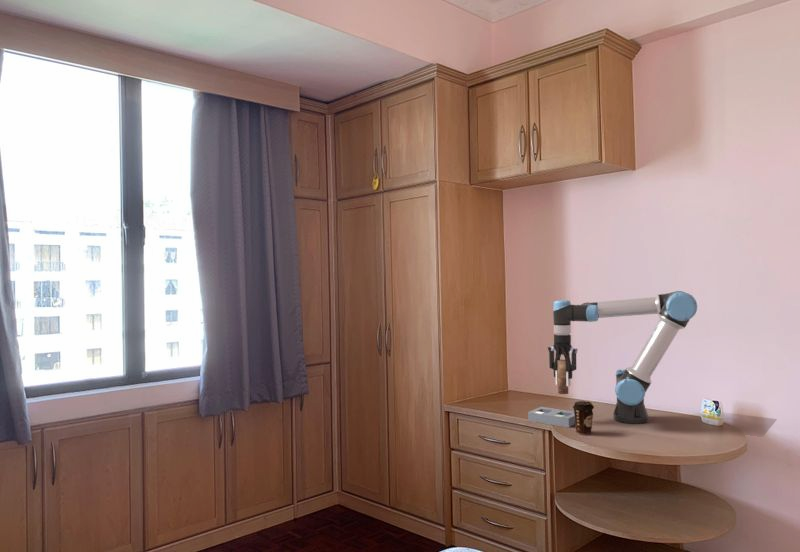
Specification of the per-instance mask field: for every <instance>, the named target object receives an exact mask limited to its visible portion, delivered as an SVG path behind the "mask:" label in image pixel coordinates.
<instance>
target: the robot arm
mask: <svg viewBox="0 0 800 552" xmlns="http://www.w3.org/2000/svg"><path fill="white" fill-rule="evenodd" d="M697 310H698V303H697V300H696V298H695V297H694V296H693V295H692V294H690V293H688V292H685V291H682V290H677V291H672V292H667V293H661V294H657V295H656V296H655V297H654V296H653V297H642V298H640V297H639V298H630V299H619V300H617V299H616V300H605V301H596V302H583V303H581V304H571V300H565V299H562V300H561V299H560V300H555V301H554V302H553V311H552V312H553V345H552V346H548V347H547V350H548V352H549V353H548V356H549V362H548V363H549V369H551V370H553V377H554V378H555V386H558V362H557V360H561V357H562V355H563V357H564V360H565V361H566V365H567V369H568V371H567V372H566V386H568V387H570V386H572V385H571V379H573V372H574V371H577V354H578V348H574V347H573V346H572V335H571V333H572V328H571V327H572V326H571V325H572V324H571V322H587V323H592V322H593V323H594V322H598V321H599V319H602V318H603V319H604V318H617V317H618V318H619V317H630V316H631V317H632V316H644V315H645V316H647V315H658V317H659V320H658V322H657V324H656V325H655V327H654V328H653V330H652V332H651V334H650V335H649V337H648V339H647V340H646V341H645V344H644V345H643V347H642V349H640V352H639V354H638V355H637V357H636V359H635V360H634V362H633V363H632V365H631V366H629V367H626V368H625V369H624V368H623V369H617V370H616V372H615V379H616V381H615V383H616V384H615V389H614V391H615V395H616V404H615V407H614V410H613V413H612V414H613V415H612V419H613V420H615V421H616V422H620V423H626V424H645V423H648V422H649V414H648V411H647V409H646V405H645V396H646V393H647V391H648V389H649V388H650V386H651V384H653V383H652V379H651V378H652V377H651V376H652V375H653V374H654V372H655V370H656V369H657V367H658V365H659V364H660V362H661V360H662V359H663V357H664V356H665V354H666V352H667V350H668V349H669V347H670V345H671V344H672V342H673V340H674V339H675V337H676V336H677V335H678V332H679V331H680V330H683V329H686V327H687V325H688V323H689V322H690V320H691V319H692V318H693V317H694V316H696V313H697ZM570 353H571V357H570Z"/></svg>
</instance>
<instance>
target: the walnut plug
mask: <svg viewBox="0 0 800 552" xmlns="http://www.w3.org/2000/svg"><path fill="white" fill-rule="evenodd" d="M557 362H558V385H557V393H558V394H560V395H568V394H569V386H566V372H567V371H568V369H567V365H566V361H565V359H560V360H557Z"/></svg>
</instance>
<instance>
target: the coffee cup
mask: <svg viewBox="0 0 800 552" xmlns="http://www.w3.org/2000/svg"><path fill="white" fill-rule="evenodd" d="M572 408H573V411H574V415H575V433H576V434H577V435H587V436H588V435H591V434H592V427H593V418H594V412H593V409H595V406H594V405H593V403H592V402H590V401H587V400H586V401H584V400H578V401H575V402H574V405H572Z"/></svg>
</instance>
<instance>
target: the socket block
mask: <svg viewBox="0 0 800 552" xmlns="http://www.w3.org/2000/svg"><path fill="white" fill-rule="evenodd" d="M527 420H528V421H529V422H532V423H533V422H534V423H541V424H547V425H551V426H559V427H564V428H571V427H573V426H576V424H575V415H574V410H568V409H567V410H565V409H561V408H552V407H545V406H540V407H537V408H535V409H533V410H529V411H528V412H527Z"/></svg>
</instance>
